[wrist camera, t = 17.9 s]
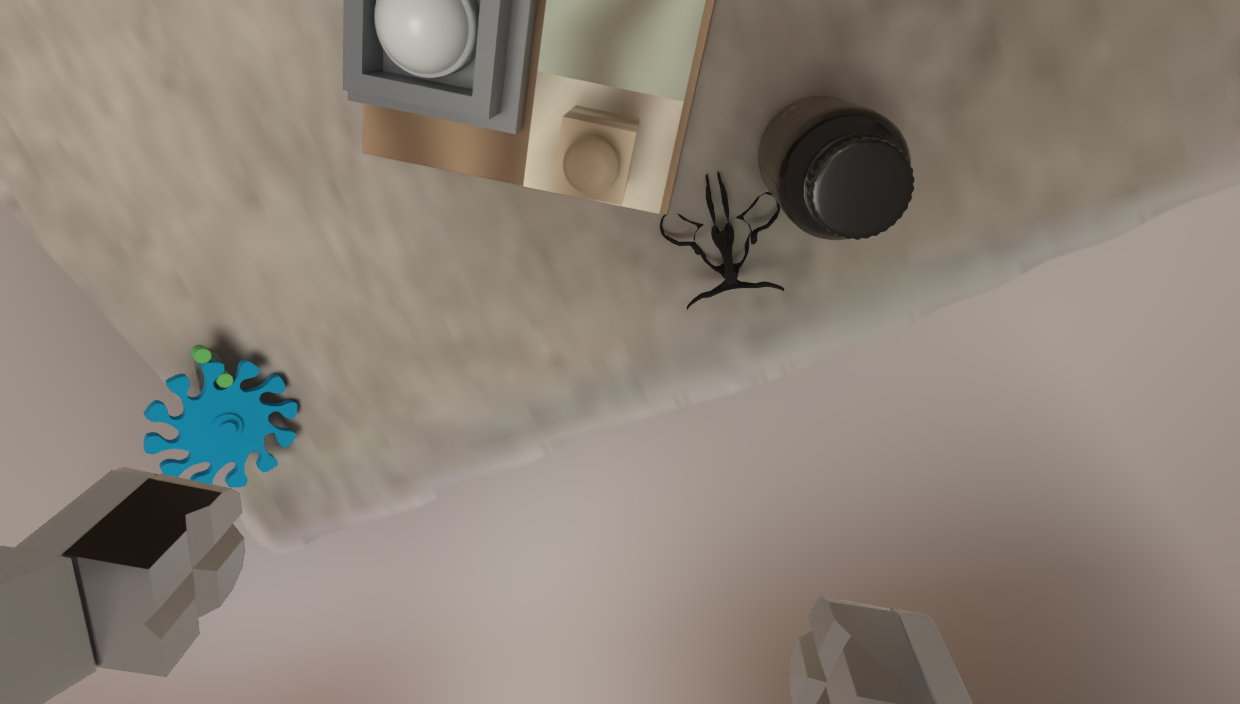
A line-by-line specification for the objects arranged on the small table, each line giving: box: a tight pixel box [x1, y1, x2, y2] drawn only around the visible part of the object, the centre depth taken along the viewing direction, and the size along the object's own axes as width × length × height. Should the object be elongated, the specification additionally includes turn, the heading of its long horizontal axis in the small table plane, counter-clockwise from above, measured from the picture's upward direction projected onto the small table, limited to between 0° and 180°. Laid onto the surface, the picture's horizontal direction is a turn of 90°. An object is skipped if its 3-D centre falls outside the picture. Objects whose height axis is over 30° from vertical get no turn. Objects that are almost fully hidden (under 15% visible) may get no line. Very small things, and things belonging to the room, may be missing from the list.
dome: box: [374, 0, 479, 78], centre depth 35 cm, size 5×5×5 cm
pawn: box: [552, 105, 640, 205], centre depth 38 cm, size 4×4×8 cm
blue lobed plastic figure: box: [144, 345, 297, 487], centre depth 51 cm, size 11×6×10 cm
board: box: [363, 0, 715, 215], centre depth 39 cm, size 20×21×1 cm
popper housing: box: [343, 0, 538, 134], centre depth 38 cm, size 10×10×6 cm
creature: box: [660, 172, 784, 310], centre depth 43 cm, size 8×5×8 cm
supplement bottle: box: [759, 97, 914, 240], centre depth 37 cm, size 7×7×12 cm
